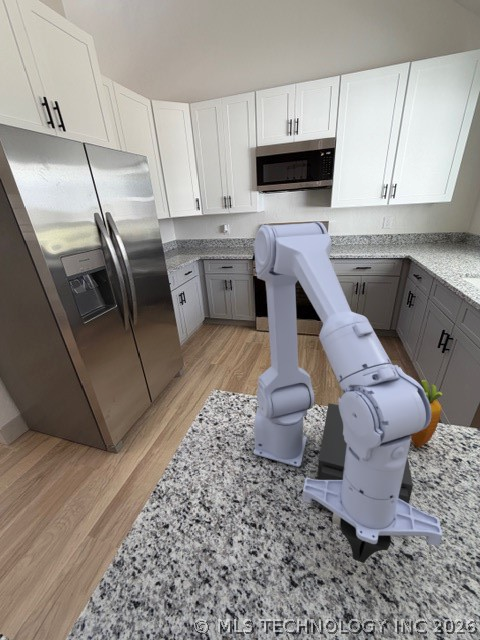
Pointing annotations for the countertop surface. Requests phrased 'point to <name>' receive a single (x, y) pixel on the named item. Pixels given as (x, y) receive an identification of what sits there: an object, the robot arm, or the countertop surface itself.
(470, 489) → the countertop surface
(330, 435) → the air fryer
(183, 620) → the countertop surface
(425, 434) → the carrot
